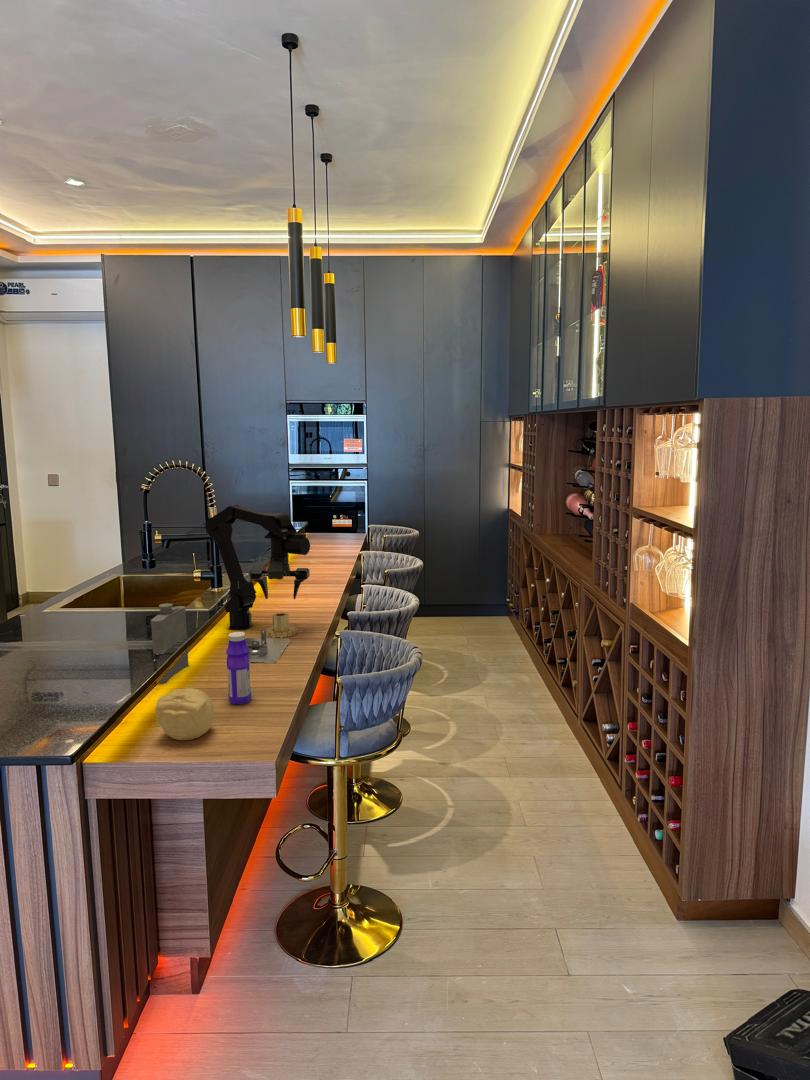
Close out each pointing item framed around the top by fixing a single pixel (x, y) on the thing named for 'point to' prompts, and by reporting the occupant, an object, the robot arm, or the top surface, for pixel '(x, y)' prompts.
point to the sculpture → (185, 713)
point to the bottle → (238, 669)
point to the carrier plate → (271, 648)
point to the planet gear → (281, 626)
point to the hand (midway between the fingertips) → (280, 598)
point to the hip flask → (169, 635)
